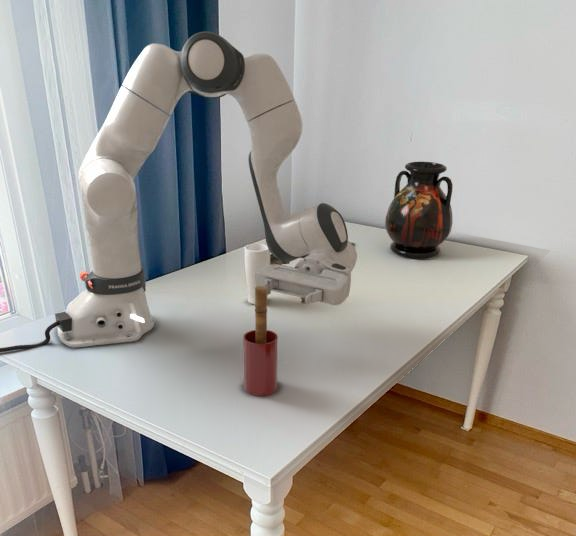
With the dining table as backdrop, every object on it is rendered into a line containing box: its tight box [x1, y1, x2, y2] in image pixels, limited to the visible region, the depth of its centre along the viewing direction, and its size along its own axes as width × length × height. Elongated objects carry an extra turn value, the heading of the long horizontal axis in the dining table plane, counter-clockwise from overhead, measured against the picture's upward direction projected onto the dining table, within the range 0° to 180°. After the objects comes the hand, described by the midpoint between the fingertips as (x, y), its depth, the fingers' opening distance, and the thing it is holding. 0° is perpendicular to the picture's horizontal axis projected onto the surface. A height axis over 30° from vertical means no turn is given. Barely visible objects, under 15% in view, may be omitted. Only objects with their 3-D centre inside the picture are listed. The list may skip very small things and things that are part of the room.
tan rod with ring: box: [254, 286, 268, 344], centre depth 117 cm, size 2×2×21 cm
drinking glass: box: [243, 243, 271, 306], centre depth 158 cm, size 7×7×15 cm
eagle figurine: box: [270, 253, 291, 265], centre depth 180 cm, size 8×7×9 cm
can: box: [242, 329, 279, 397], centre depth 120 cm, size 7×7×12 cm
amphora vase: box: [384, 161, 453, 260], centre depth 194 cm, size 22×22×28 cm
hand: (283, 295), depth 121 cm, fingers open, 8 cm apart
